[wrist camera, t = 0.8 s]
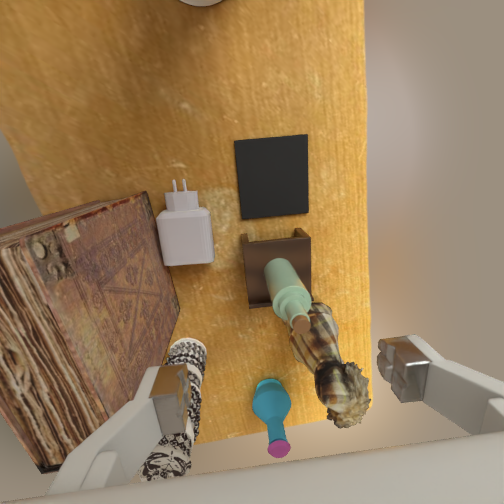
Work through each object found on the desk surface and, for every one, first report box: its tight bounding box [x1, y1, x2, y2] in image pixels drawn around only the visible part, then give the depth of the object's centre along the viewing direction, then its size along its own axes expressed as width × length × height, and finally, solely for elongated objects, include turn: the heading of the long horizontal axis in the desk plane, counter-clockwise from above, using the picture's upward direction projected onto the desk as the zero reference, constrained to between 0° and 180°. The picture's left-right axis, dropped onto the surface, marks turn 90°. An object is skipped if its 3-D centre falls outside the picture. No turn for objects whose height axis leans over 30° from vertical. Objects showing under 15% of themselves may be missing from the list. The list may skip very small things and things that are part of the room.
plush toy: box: [282, 303, 371, 428], centre depth 48 cm, size 14×14×25 cm
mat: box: [234, 134, 309, 219], centre depth 48 cm, size 14×13×1 cm
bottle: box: [263, 258, 311, 334], centre depth 39 cm, size 6×6×16 cm
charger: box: [156, 179, 215, 266], centre depth 47 cm, size 5×9×15 cm
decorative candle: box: [137, 338, 207, 482], centre depth 48 cm, size 9×9×25 cm
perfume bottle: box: [252, 379, 291, 458], centre depth 58 cm, size 9×9×15 cm
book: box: [0, 191, 180, 474], centre depth 37 cm, size 25×9×30 cm, turn 9°
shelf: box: [241, 228, 314, 309], centre depth 49 cm, size 12×12×8 cm
